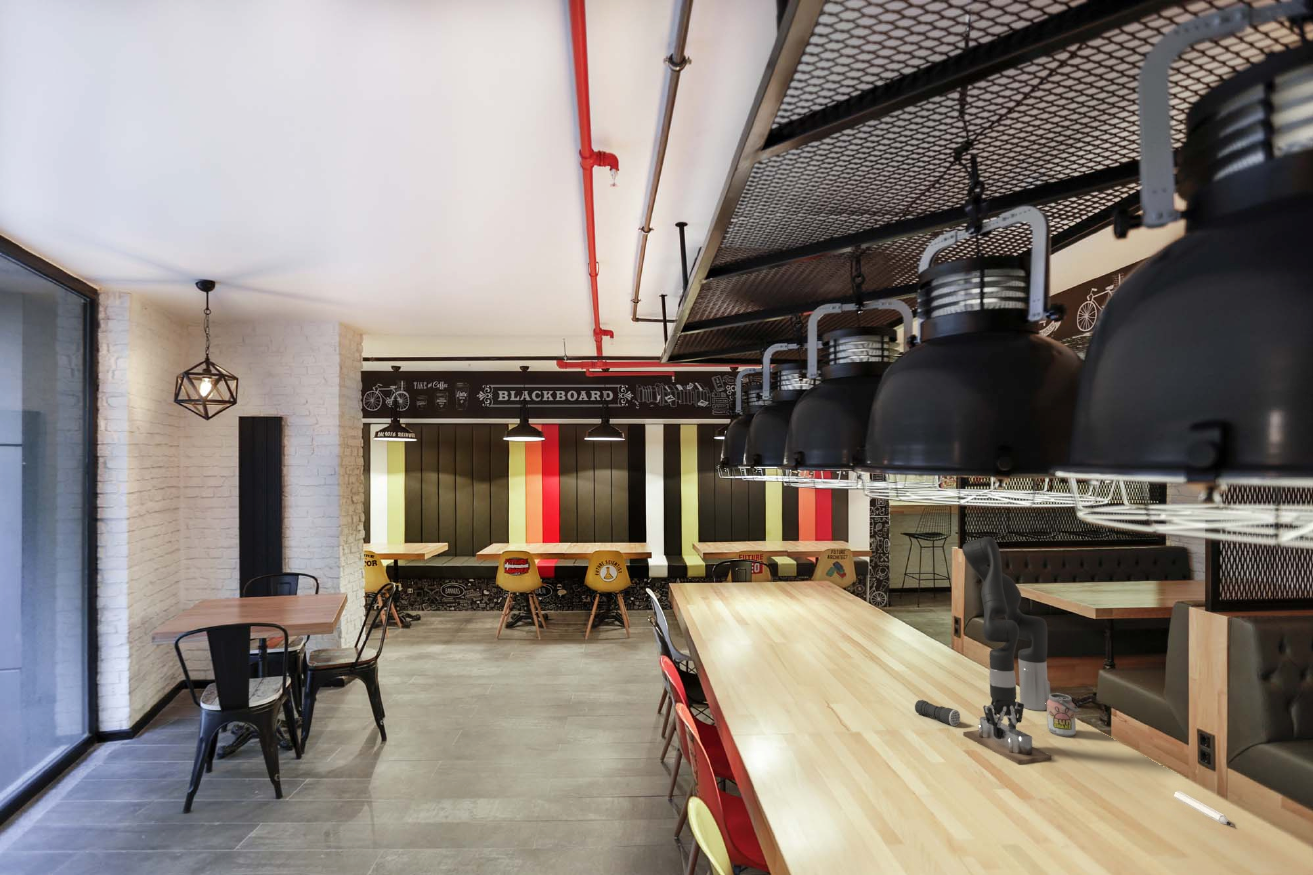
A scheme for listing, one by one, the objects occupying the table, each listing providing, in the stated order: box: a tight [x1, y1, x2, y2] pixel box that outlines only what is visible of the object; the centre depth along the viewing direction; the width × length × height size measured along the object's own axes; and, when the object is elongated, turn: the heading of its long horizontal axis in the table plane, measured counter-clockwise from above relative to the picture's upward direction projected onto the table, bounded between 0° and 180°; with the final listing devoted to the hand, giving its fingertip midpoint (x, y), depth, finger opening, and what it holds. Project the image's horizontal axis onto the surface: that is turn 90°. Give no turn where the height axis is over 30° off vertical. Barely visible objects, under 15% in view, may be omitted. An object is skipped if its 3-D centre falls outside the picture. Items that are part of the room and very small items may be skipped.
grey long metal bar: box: [979, 716, 1033, 755], centre depth 221 cm, size 4×20×5 cm, turn 15°
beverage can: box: [1046, 692, 1080, 738], centre depth 232 cm, size 9×8×12 cm
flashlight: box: [914, 699, 961, 727], centre depth 247 cm, size 15×5×5 cm, turn 31°
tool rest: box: [962, 723, 1052, 765], centre depth 221 cm, size 12×24×5 cm, turn 15°
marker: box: [1173, 790, 1233, 827], centre depth 177 cm, size 3×2×16 cm
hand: (1004, 736), depth 221 cm, fingers open, 4 cm apart
